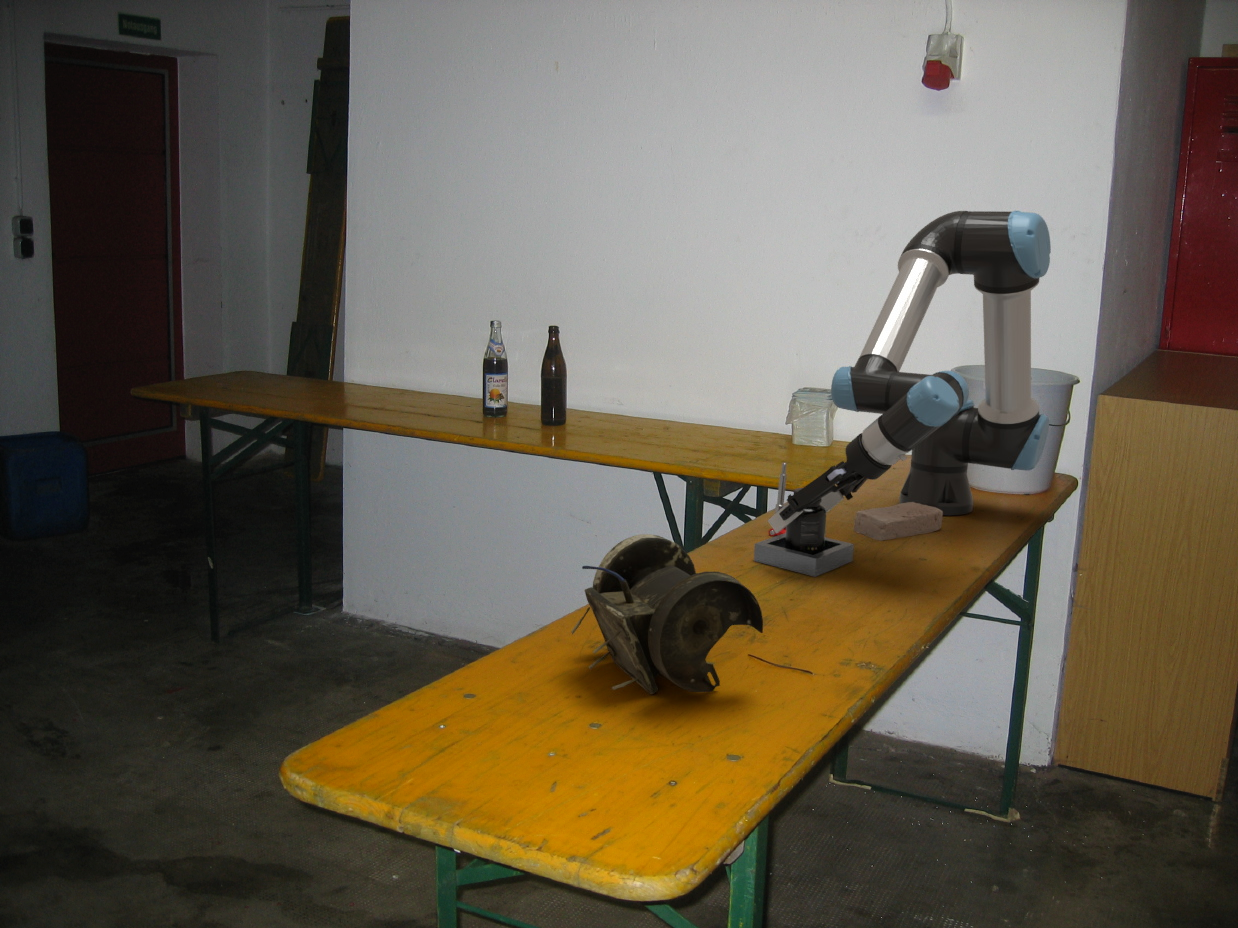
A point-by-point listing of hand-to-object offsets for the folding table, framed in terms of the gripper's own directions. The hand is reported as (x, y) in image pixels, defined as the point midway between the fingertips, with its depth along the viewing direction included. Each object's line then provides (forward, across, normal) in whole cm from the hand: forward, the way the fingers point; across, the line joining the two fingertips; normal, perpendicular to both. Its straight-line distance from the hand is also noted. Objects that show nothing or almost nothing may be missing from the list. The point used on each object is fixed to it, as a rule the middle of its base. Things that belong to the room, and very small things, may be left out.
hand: (794, 519), depth 192 cm
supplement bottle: (+3, 0, -6) cm, 7 cm away
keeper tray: (+3, 0, -7) cm, 8 cm away
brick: (+2, +31, -9) cm, 32 cm away
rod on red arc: (+11, +14, 0) cm, 18 cm away
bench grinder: (-6, -57, -16) cm, 59 cm away
